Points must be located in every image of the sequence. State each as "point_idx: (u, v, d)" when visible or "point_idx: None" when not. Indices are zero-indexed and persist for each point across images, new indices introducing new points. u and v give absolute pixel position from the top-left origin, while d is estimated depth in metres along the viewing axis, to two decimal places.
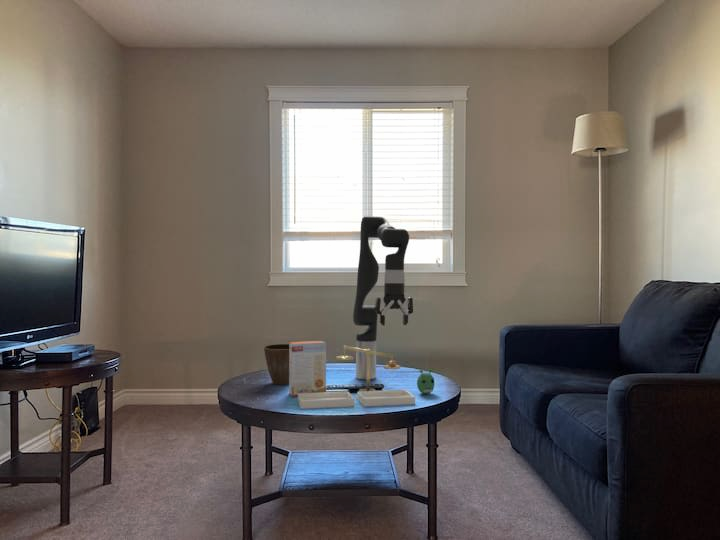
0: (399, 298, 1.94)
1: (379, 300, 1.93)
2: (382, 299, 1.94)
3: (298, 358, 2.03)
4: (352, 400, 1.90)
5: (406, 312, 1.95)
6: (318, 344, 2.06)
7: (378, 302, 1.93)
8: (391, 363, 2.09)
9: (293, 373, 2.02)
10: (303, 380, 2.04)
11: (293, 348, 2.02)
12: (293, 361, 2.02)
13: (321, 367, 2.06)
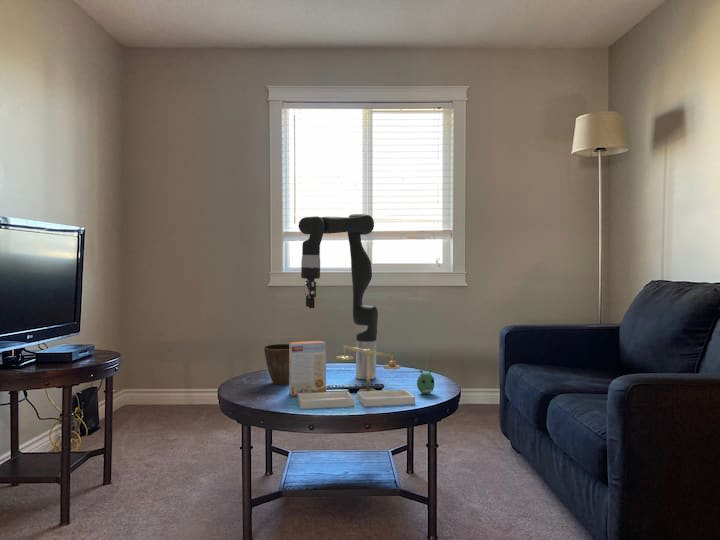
0: None
1: None
2: None
3: (298, 358, 2.03)
4: (352, 400, 1.90)
5: None
6: (318, 344, 2.06)
7: (315, 286, 2.01)
8: (391, 363, 2.09)
9: (293, 373, 2.02)
10: (303, 380, 2.04)
11: (293, 348, 2.02)
12: (293, 361, 2.02)
13: (321, 367, 2.06)
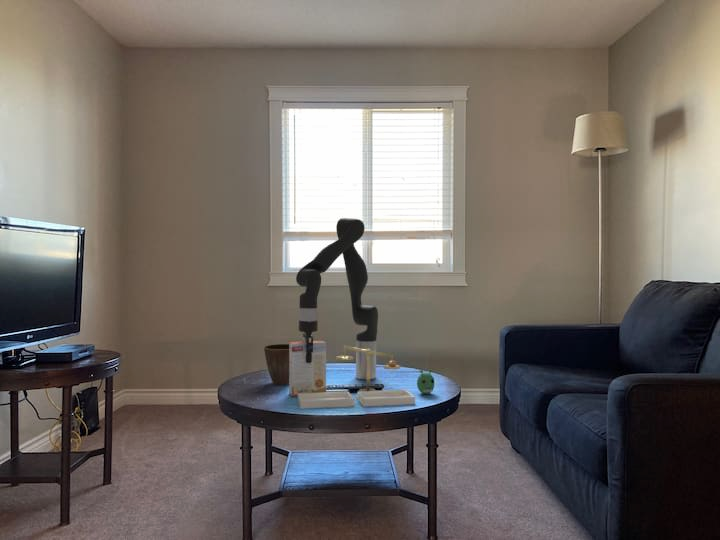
0: None
1: None
2: None
3: (298, 358, 2.03)
4: (352, 400, 1.90)
5: None
6: (318, 344, 2.06)
7: (312, 341, 2.01)
8: (391, 363, 2.09)
9: (293, 373, 2.02)
10: (303, 380, 2.04)
11: (293, 348, 2.02)
12: (293, 361, 2.02)
13: (321, 367, 2.06)
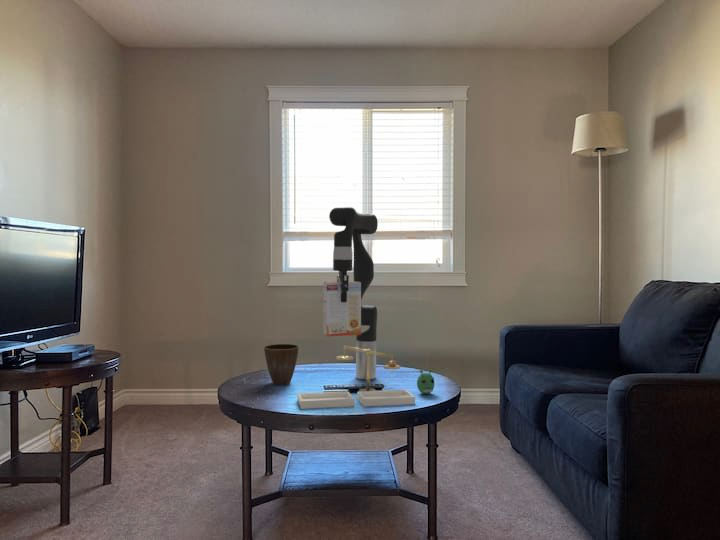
0: None
1: None
2: None
3: (332, 297, 1.99)
4: (352, 400, 1.90)
5: None
6: (353, 283, 2.01)
7: None
8: (391, 363, 2.09)
9: (328, 312, 1.98)
10: (338, 320, 1.99)
11: (328, 287, 1.98)
12: (328, 300, 1.98)
13: (356, 307, 2.02)
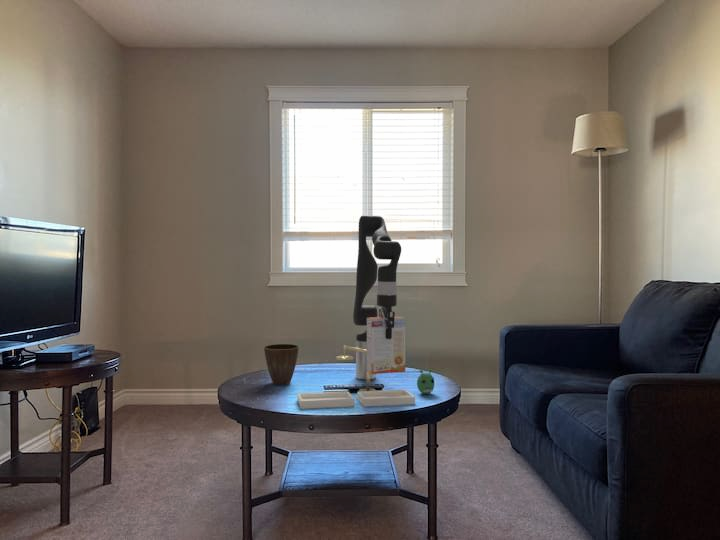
0: None
1: None
2: None
3: (377, 334, 1.93)
4: (352, 400, 1.90)
5: None
6: (398, 319, 1.96)
7: None
8: None
9: (373, 349, 1.93)
10: (383, 357, 1.94)
11: (373, 323, 1.93)
12: (373, 337, 1.93)
13: (401, 343, 1.97)
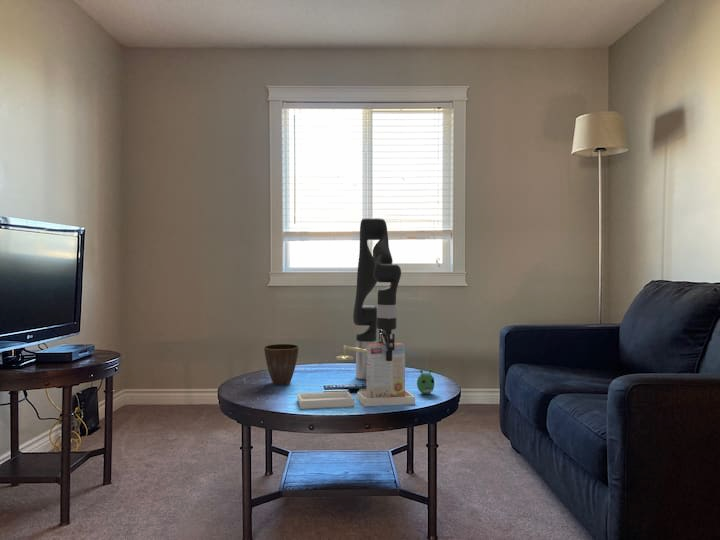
0: None
1: None
2: None
3: (377, 361, 1.94)
4: (352, 400, 1.90)
5: None
6: (397, 346, 1.97)
7: None
8: None
9: (372, 376, 1.93)
10: (382, 384, 1.95)
11: (372, 350, 1.93)
12: (372, 364, 1.93)
13: (400, 370, 1.97)
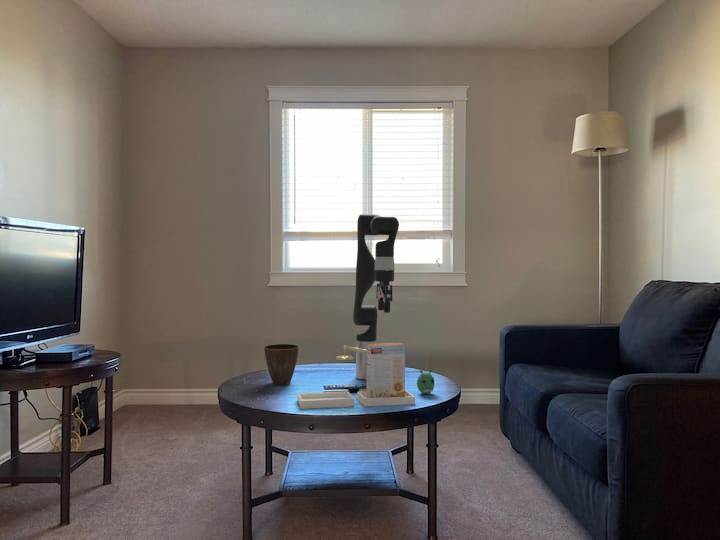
0: None
1: None
2: None
3: (377, 361, 1.94)
4: (352, 400, 1.90)
5: None
6: (397, 346, 1.97)
7: None
8: None
9: (372, 376, 1.93)
10: (382, 384, 1.95)
11: (372, 350, 1.93)
12: (372, 364, 1.93)
13: (400, 370, 1.97)
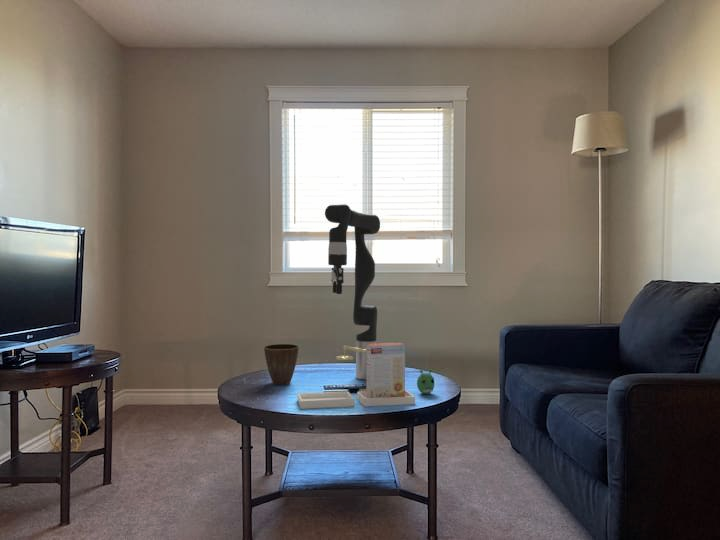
0: None
1: None
2: None
3: (377, 361, 1.94)
4: (352, 400, 1.90)
5: None
6: (397, 346, 1.97)
7: None
8: None
9: (372, 376, 1.93)
10: (382, 384, 1.95)
11: (372, 350, 1.93)
12: (372, 364, 1.93)
13: (400, 370, 1.97)
